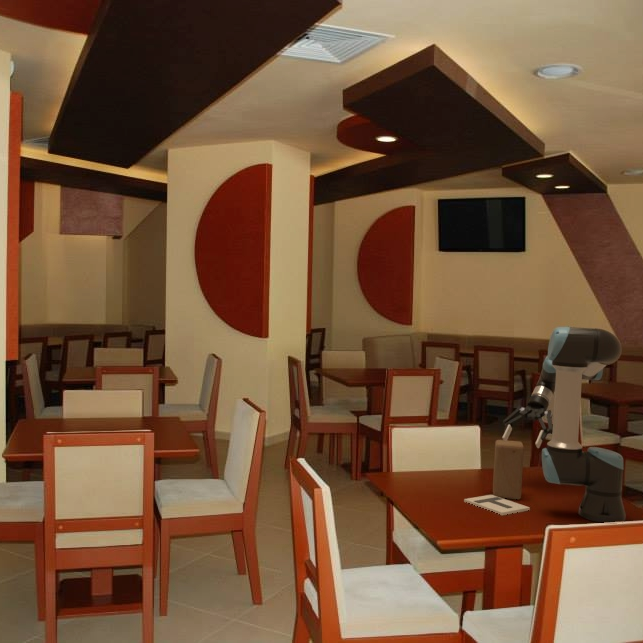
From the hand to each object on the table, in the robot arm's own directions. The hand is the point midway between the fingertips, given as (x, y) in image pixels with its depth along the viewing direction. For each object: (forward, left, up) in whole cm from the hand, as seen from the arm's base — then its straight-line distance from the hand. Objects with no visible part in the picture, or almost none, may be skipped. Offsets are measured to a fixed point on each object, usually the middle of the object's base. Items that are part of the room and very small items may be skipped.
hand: (520, 442), depth 296 cm
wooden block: (-3, +9, -19) cm, 21 cm away
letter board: (-11, +23, -19) cm, 32 cm away
